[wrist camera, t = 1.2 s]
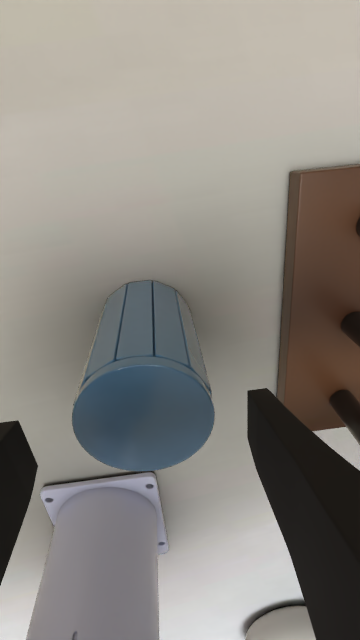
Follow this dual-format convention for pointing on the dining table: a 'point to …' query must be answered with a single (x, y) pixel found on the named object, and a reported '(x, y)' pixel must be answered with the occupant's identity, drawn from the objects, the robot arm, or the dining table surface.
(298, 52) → the dining table surface
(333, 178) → the rack
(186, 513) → the dining table surface
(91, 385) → the cup
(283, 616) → the donut
